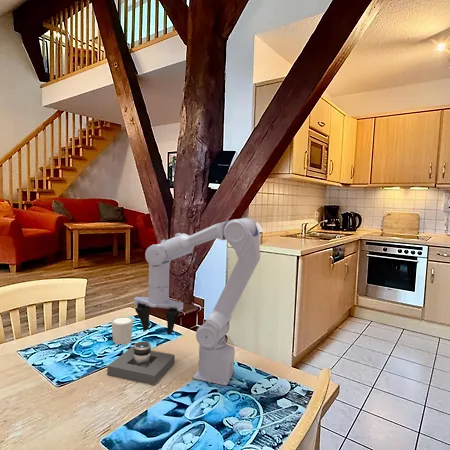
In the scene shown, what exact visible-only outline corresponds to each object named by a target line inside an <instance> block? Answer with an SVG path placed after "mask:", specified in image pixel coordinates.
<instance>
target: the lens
mask: <svg viewBox="0 0 450 450" xmlns="http://www.w3.org/2000/svg"><path fill="white" fill-rule="evenodd" d="M151 346H152V345H151V343H150V342H148V341H138V342H136V343H134V346H133V347H134V364H133V365H137V366H141V367H146V368H147V367H148V366H149V365H150V352H151V350H152V349H151V348H152V347H151Z"/></svg>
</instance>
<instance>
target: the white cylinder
mask: <svg viewBox="0 0 450 450" xmlns="http://www.w3.org/2000/svg"><path fill="white" fill-rule="evenodd" d="M133 326H134V319H133V317H129V316H120V317H115V318H113V319H112V320H111V332H112V342H114V343H115V344H114V343H113V344H114V345H117V344H119V345H118V346H121V345H120V344H124V345H128V344H130V343H131V341H132V335H133ZM129 342H130V343H129ZM127 343H128V344H127Z"/></svg>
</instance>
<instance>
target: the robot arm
mask: <svg viewBox="0 0 450 450" xmlns="http://www.w3.org/2000/svg"><path fill="white" fill-rule="evenodd" d="M215 239H218V240H221V241H225V240H226V242H227V243H228V244H229V245H230V246H231V248H233V250H234V251H235V253H236V256H237V258H238V259H237V262H236V264H235V265H234V268H233V269H232V271H231V274H230V275H229V277H228V279H227V282H226V284H225V285H224V287H223V289H222V291H221V294H220V295H219V298H218V300H217V302H216V304H215V306H214V308H213V309H212V311H211V312H210V314H209V315H208V317H206V319H205V321H204V323H202V325H200V326H199V327H198V328H197V330H196V331H195V338H196V341H197V343H198V344H199V345H198V348H199V349H198V368H197V371H196V372H195V373H194V374H193V376H192V379H193V380H198V381H203V382H207V383H211V384H217V385H222V386H228V384H229V382H230V380H231V378H232V376H233V374H234V373H235V369H234V368H235V346H233V345H230V344H228V343H227V338H226V335H227V333H229V330H230V321H231V319H232V314H233V312H234V311H235V309H236V306H237V305H238V302H239V301H240V299H241V297H242V295H243V292H244V291H245V289H246V287H247V285H248V283H249V281H250V279H251V277H252V275H253V273H254V271H255V269H256V268H257V265H258V264H259V261H260V259H261V250H260V229H259V227H258V226H257V224H256V221H254V220H253V219H252V218H250V217H242V218H237V219H236V218H235V219H234V218H233V219H231V220H228V221H223V222H218V223H215V224H213V225H210V226H208V227H205V228H203V229H202V230H199V231H198V232H195V233H192V234H191V235H188V234H187V233H181V232H177V233H175V234H174V237H170V238H169V239H162V240H160V243H157V244H152V245H149V246H148V247H147V248H146V250H145V253H144V255H145V260H146V262H147V263H148V297H147V296H136V297H134V299H133V305H134V306H136V307H135V312H136V314H137V316H138V317H139V319H140V323H141V326H142V331H143V332H146V331H147V330H149V327H150V314H151V308H160V309H167V311H166V312H165V316H166V321H167V322H166V324H167V326H166V329H167V330H166V334H167V335H168V336H170V335H172V333H174V327H175V324H176V321H177V318H178V317H179V315H180V313H181V312H182V311H183V310H184V302H181V301H177V300H173V299H170V298H169V297H170V294H169V293H170V267H171V262H172V261H173V260H176V259H178V258H181V257H184V256H186V255H188V254H189V255H190V254H191V253H193V250H194V248H195V246H199V245H201V244H204V243H207V242H210V241H212V240H215ZM168 309H169V310H168ZM233 372H234V373H233Z"/></svg>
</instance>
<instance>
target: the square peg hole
mask: <svg viewBox="0 0 450 450" xmlns="http://www.w3.org/2000/svg"><path fill="white" fill-rule="evenodd" d="M175 357H176V356H175V354H172V353H166V352H163V351H162V352H161V351H155V350H152V349H151V352H150V365H149V366H148V367H147V368H146V367H141V366H137V365H133V364H134V346H131V347H130V348H128V349H127V350H126V351H124V353H122V354H121V355H120V356H118V357H117V358H115V359H114V360H113V361H112V362H110V363H109V364H107V369H106V370H107V371H106V373H107V376H112V377H116V378H119V379H124V380H130V381H133V382H139V383H141V384H142V383H143V384H146V385H152V386H155V385H157V383H158V382H159V381H160V380H161V379H162V378H163V377H164V376H165V374H166V373H167V372H169V370H170V369H171V368H172V367H173V366H174V365H175V361H176V360H175Z"/></svg>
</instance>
